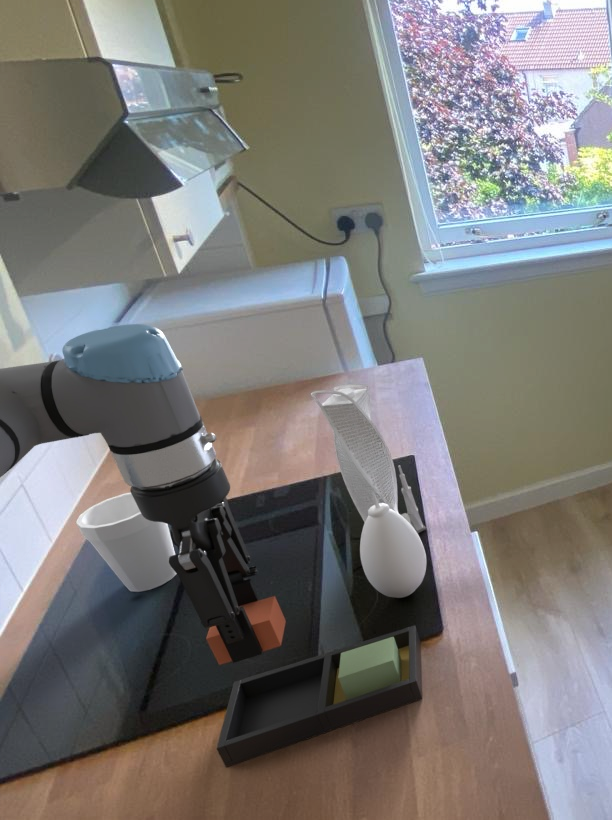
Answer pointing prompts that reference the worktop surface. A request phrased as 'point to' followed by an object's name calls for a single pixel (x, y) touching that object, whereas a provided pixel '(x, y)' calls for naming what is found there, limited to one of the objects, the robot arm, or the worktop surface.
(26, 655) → the worktop surface
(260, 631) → the terracotta block
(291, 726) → the divided sorting tray
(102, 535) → the foam cup
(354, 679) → the light green block
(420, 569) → the white tall egg-shaped piece
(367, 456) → the skyscraper
